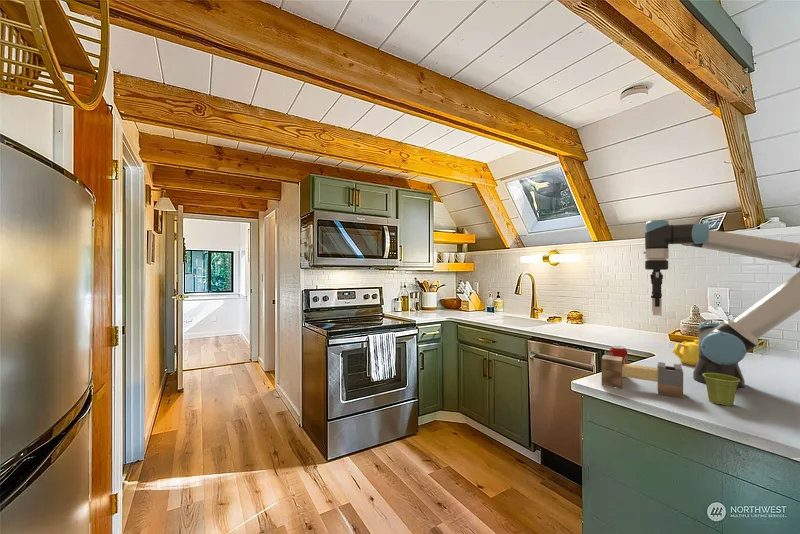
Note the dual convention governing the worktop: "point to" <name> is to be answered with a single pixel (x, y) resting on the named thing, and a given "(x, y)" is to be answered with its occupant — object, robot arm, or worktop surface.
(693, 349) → the teapot
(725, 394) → the plant pot
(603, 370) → the socket
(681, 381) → the sleeve
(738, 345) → the robot arm
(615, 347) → the beverage can
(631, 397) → the worktop surface
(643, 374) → the rod
